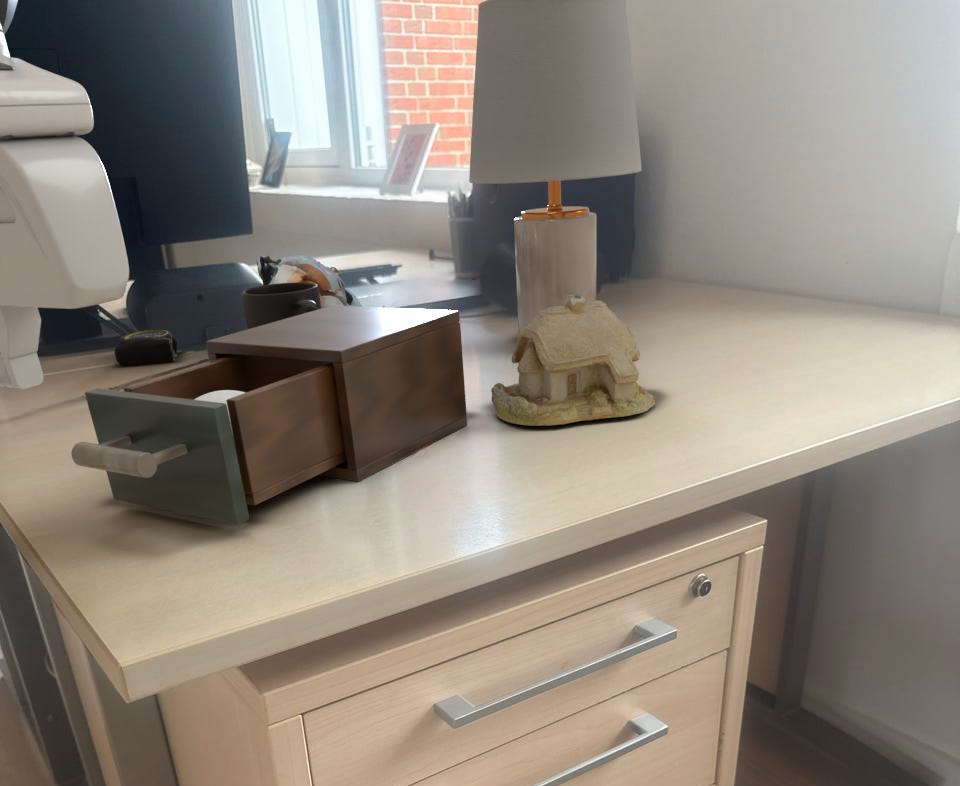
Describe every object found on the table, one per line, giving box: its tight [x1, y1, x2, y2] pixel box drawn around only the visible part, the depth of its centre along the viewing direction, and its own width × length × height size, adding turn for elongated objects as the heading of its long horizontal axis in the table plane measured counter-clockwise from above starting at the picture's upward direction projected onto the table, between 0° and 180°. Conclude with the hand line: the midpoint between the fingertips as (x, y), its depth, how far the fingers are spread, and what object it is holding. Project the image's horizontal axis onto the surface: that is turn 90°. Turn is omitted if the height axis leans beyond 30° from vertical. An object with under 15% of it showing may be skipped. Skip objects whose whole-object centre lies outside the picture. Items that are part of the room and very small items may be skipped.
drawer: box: [70, 355, 347, 526], centre depth 65 cm, size 19×13×8 cm, turn 149°
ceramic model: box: [490, 294, 656, 427], centre depth 80 cm, size 14×11×10 cm
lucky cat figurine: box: [256, 254, 364, 309], centre depth 111 cm, size 15×12×14 cm
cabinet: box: [205, 305, 468, 482], centre depth 76 cm, size 16×14×10 cm
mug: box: [240, 282, 321, 329], centre depth 98 cm, size 8×12×10 cm
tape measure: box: [113, 329, 179, 367], centre depth 111 cm, size 7×7×4 cm
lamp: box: [468, 0, 643, 335], centre depth 101 cm, size 19×19×34 cm
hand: (17, 385), depth 52 cm, fingers closed
